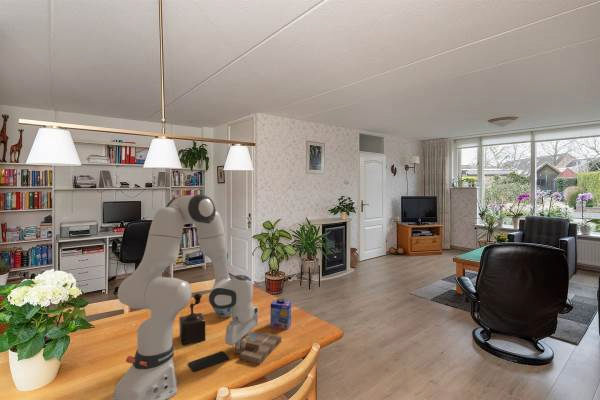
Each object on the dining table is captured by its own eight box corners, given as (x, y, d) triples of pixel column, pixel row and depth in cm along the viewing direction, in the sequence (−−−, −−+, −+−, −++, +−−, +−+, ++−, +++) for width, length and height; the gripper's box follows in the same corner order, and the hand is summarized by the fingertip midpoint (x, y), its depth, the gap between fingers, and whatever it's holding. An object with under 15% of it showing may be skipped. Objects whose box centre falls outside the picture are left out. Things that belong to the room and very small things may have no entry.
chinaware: (244, 314, 167) (244, 300, 167) (221, 323, 156) (221, 308, 156) (228, 307, 177) (228, 294, 177) (205, 314, 166) (205, 301, 166)
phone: (187, 362, 120) (222, 350, 129) (187, 364, 120) (223, 352, 129) (192, 371, 114) (230, 358, 123) (193, 373, 114) (230, 360, 123)
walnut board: (259, 364, 120) (259, 358, 120) (240, 359, 123) (240, 353, 123) (281, 341, 138) (281, 336, 138) (263, 337, 142) (264, 332, 142)
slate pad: (254, 345, 134) (254, 344, 134) (233, 340, 139) (233, 339, 139) (265, 335, 144) (265, 334, 144) (245, 331, 148) (245, 330, 148)
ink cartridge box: (269, 327, 152) (270, 299, 152) (272, 322, 158) (273, 295, 157) (288, 329, 150) (289, 301, 150) (291, 324, 156) (291, 297, 155)
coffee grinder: (207, 340, 138) (207, 302, 138) (181, 346, 133) (181, 306, 132) (201, 326, 152) (201, 291, 151) (177, 331, 147) (177, 294, 146)
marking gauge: (257, 357, 125) (257, 343, 125) (234, 352, 129) (234, 338, 129) (261, 353, 128) (261, 339, 128) (239, 347, 133) (239, 334, 132)
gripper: (234, 324, 118) (234, 359, 119) (260, 306, 137) (260, 335, 138) (221, 321, 121) (221, 355, 121) (248, 304, 140) (248, 333, 140)
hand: (242, 345), depth 130 cm, fingers closed on marking gauge, 4 cm apart
